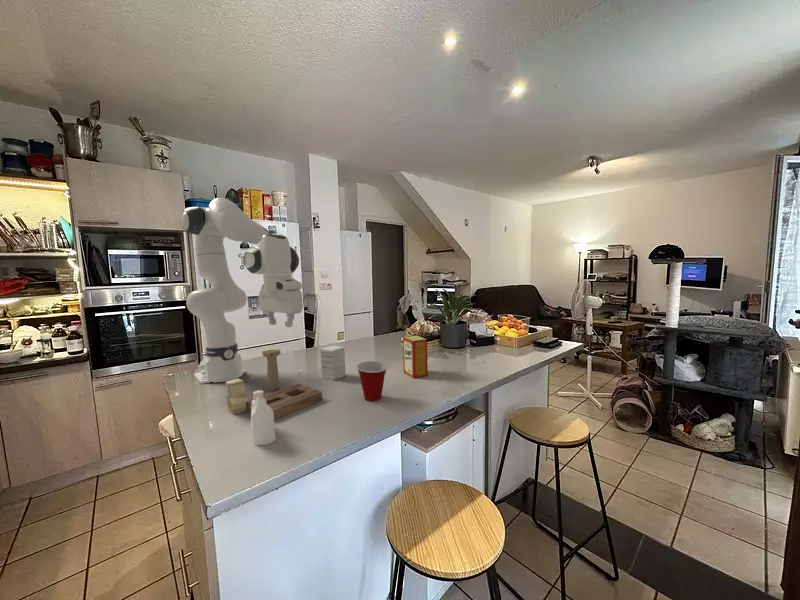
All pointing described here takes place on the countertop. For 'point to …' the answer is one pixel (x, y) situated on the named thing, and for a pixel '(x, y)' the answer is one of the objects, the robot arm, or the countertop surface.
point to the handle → (272, 368)
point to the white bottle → (256, 394)
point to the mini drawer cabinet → (333, 362)
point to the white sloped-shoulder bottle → (262, 423)
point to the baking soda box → (415, 356)
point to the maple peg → (236, 396)
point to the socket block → (289, 399)
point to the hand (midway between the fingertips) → (280, 325)
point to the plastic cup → (372, 379)
